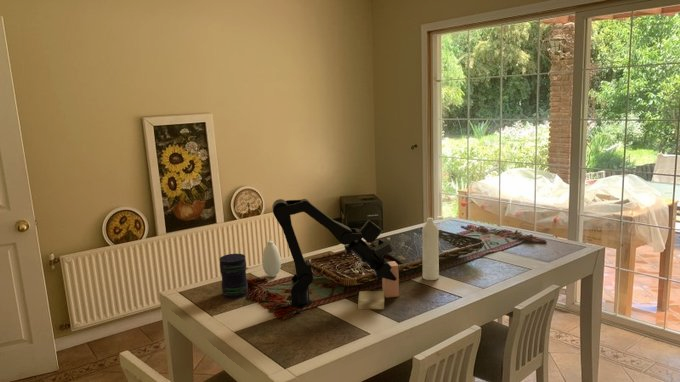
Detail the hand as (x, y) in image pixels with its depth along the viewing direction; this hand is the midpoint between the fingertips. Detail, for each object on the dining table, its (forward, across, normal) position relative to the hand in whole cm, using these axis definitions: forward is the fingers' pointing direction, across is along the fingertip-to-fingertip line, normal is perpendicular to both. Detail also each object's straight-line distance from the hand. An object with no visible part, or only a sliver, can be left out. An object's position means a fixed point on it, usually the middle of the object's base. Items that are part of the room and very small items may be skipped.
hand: (393, 277), depth 188 cm
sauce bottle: (-27, +32, +36) cm, 55 cm away
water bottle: (+19, +13, -9) cm, 24 cm away
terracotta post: (+4, 0, +6) cm, 7 cm away
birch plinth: (-3, -7, +12) cm, 14 cm away
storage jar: (-37, +16, +47) cm, 62 cm away
